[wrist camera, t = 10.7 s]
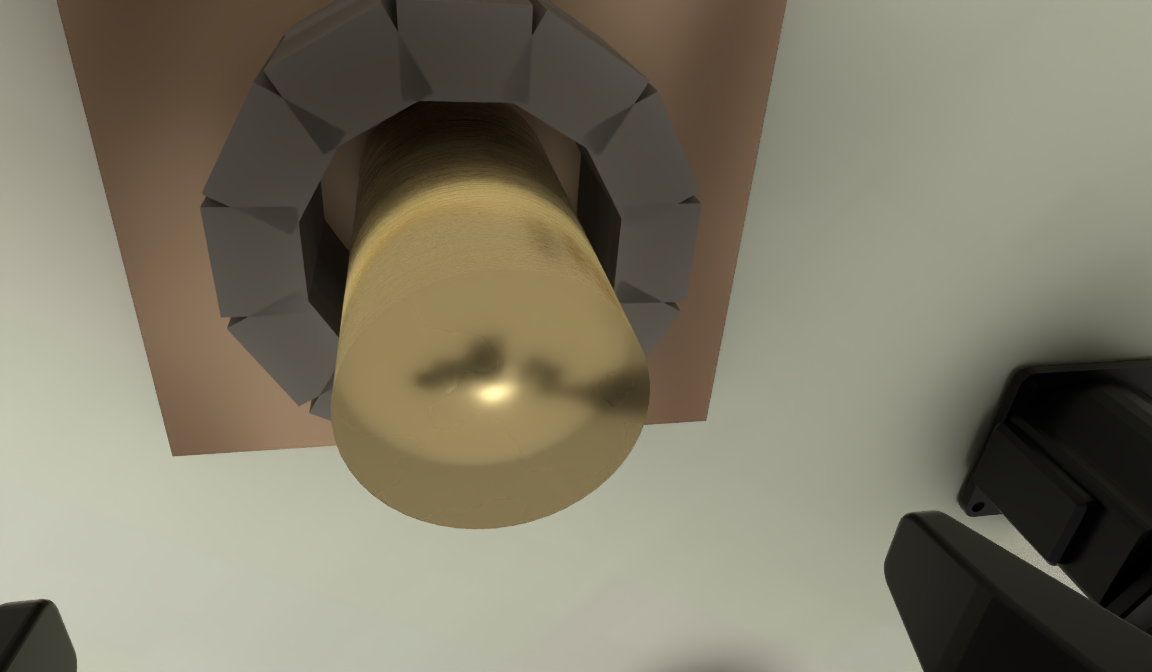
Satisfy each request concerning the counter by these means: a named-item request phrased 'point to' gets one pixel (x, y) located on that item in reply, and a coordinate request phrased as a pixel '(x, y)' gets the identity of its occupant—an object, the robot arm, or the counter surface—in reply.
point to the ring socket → (333, 160)
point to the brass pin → (478, 328)
